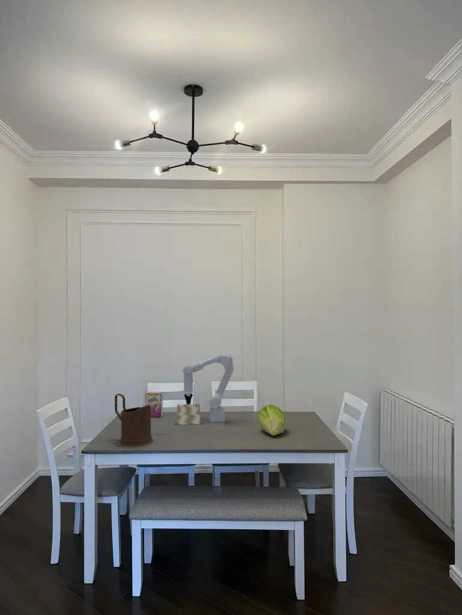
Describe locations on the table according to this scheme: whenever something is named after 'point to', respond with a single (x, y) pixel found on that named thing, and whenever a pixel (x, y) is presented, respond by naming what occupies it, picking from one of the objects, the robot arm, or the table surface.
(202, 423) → the grey long block
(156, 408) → the candy bar box
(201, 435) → the table surface
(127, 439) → the brown metal pitcher
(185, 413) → the flip panel
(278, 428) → the lettuce
